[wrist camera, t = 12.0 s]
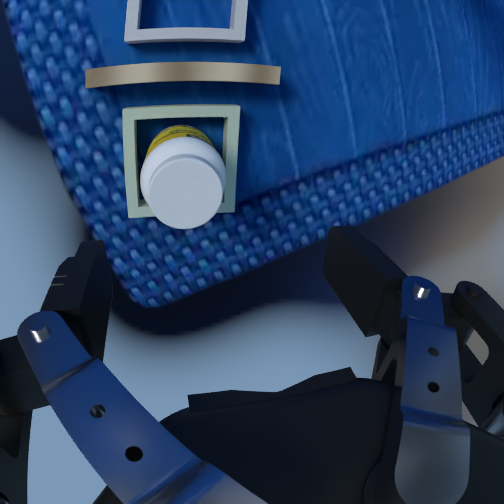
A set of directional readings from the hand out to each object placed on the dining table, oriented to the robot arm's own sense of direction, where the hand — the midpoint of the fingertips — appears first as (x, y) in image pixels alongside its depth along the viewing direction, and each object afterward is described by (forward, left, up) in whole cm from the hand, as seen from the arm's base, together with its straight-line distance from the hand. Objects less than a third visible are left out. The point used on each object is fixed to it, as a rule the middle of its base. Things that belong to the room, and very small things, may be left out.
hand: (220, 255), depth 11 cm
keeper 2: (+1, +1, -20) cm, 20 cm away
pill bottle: (+1, +1, -20) cm, 20 cm away
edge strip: (+1, -7, -20) cm, 21 cm away
